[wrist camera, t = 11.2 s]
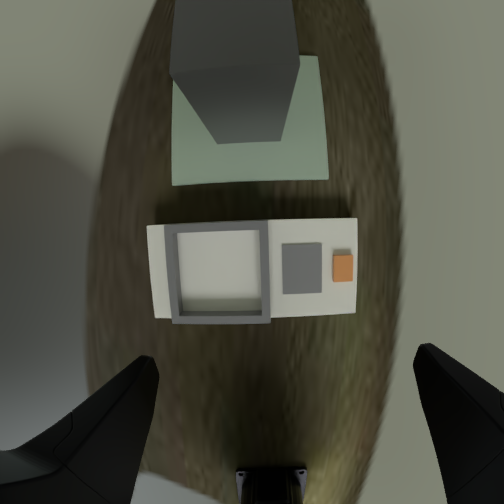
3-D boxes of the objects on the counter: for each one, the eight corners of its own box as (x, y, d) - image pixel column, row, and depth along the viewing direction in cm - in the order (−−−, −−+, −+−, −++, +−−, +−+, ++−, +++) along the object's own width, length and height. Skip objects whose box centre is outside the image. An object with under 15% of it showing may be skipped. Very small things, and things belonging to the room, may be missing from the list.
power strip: (349, 305, 20) (360, 317, 17) (162, 310, 20) (149, 322, 18) (350, 217, 19) (362, 218, 17) (154, 224, 19) (140, 226, 17)
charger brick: (280, 141, 18) (300, 64, 8) (217, 144, 18) (169, 73, 8) (276, 85, 18) (288, -19, 7) (216, 88, 18) (176, -11, 7)
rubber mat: (327, 179, 19) (328, 178, 18) (174, 185, 19) (172, 185, 19) (316, 59, 18) (317, 56, 17) (175, 66, 18) (174, 63, 17)
